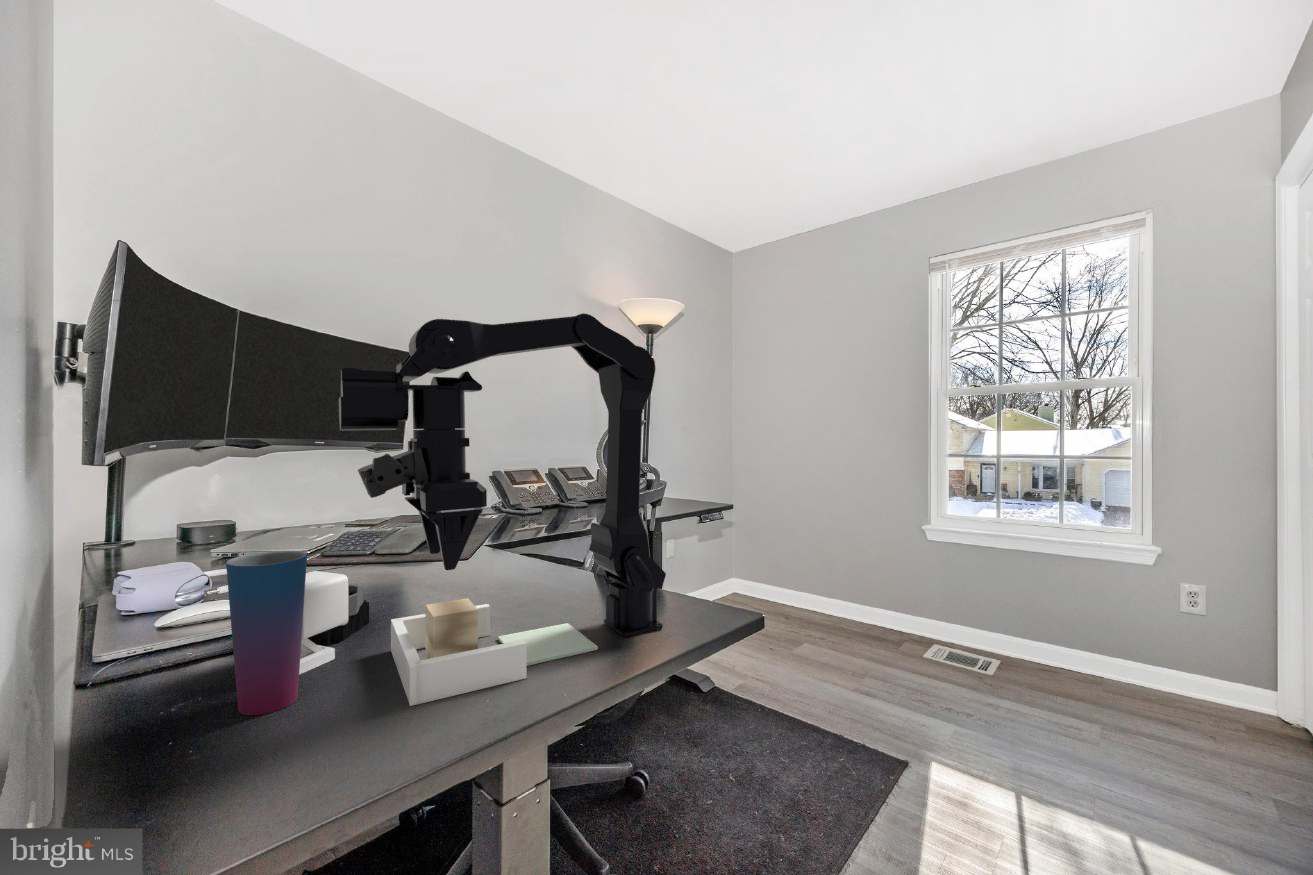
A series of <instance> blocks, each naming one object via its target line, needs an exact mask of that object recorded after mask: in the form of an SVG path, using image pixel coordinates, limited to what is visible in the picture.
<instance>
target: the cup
mask: <svg viewBox="0 0 1313 875" xmlns="http://www.w3.org/2000/svg"><path fill="white" fill-rule="evenodd" d="M307 561H308V554H307V552H305V551H300V550H273V551H261V552H256V553H255V552H254V553H250V554H244V555H240V556H236V557H233V558H230V559H228V560H227V561H226V562H225V567H226V579H227V592H228V601H229V602H228V604H229V613H230V614H229V615H230V626H231V637H232V639H231V640H232V648H233V649H232V650H233V652H232V653H233V661H234V662H233V663H234V675H235V687H236V697H237V707H238V708H237V710H238V713H240V714H242V715H245V716H246V715H247V716H259V715H266V714H269V713H274V712H277V711H279V710H282V709H285V708H286V707H289V706H291V705H292V704H293V703H294V702H296V701H297V699H298V696H299V683H300V682H299V680H300V675H299V669H300V654H301V639H302V624H303V609H304V594H305V579H306V573H307V564H308V563H307Z"/></svg>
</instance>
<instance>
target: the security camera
mask: <svg viewBox="0 0 1313 875" xmlns="http://www.w3.org/2000/svg"><path fill="white" fill-rule="evenodd" d="M348 584H349V578H348V577H347V575H346V574H343V573H336V572H335V573H334V572H327V571H318V570H313V571H309V572H306V579H305V594H304V609H303V624H302V639H301V654H300V669H299V676H300V675H302V674H304V673H306V672H308V671H310V670H313V669H316V668H317V667H320V666H322V665H324V664H326V663H329V662H331V661H333V660H335V658H336V652H335V650H336V649H335V647H330V646H326V645H316V644H315V643H313V642H312V641H310V640H309V639H308V637H311V636H313V635H316V634H319V633H321V632H324V631H326V630H329V629H332V628H334V627H337V626H339V625H345V624H347V623H348Z"/></svg>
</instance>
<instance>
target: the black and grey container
mask: <svg viewBox="0 0 1313 875" xmlns="http://www.w3.org/2000/svg"><path fill="white" fill-rule="evenodd" d="M369 624H370V602H369V601H367V599H366V600H364V588H363V587H362V586H361V585H358V584H353V583H352V584H350V583H348V623H347V624H345V625H339V626H337V627H334V628H332V629H329V630H326V631H324V632H321V633H319V634H316V635H313V636H311V637H308V639H309V640H310V641H312V642H313V643H315V644H316V645H319V646H330V645H331V644H332V643H334V644H336V643H338V644H339V643H341V642H342V641H344V640H346V639H347V638H349V637H350V636H351V635H353V634H355V633H357V632H358V631H360V630H361V629H363V628H364V627H365V626H367V625H369Z"/></svg>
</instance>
